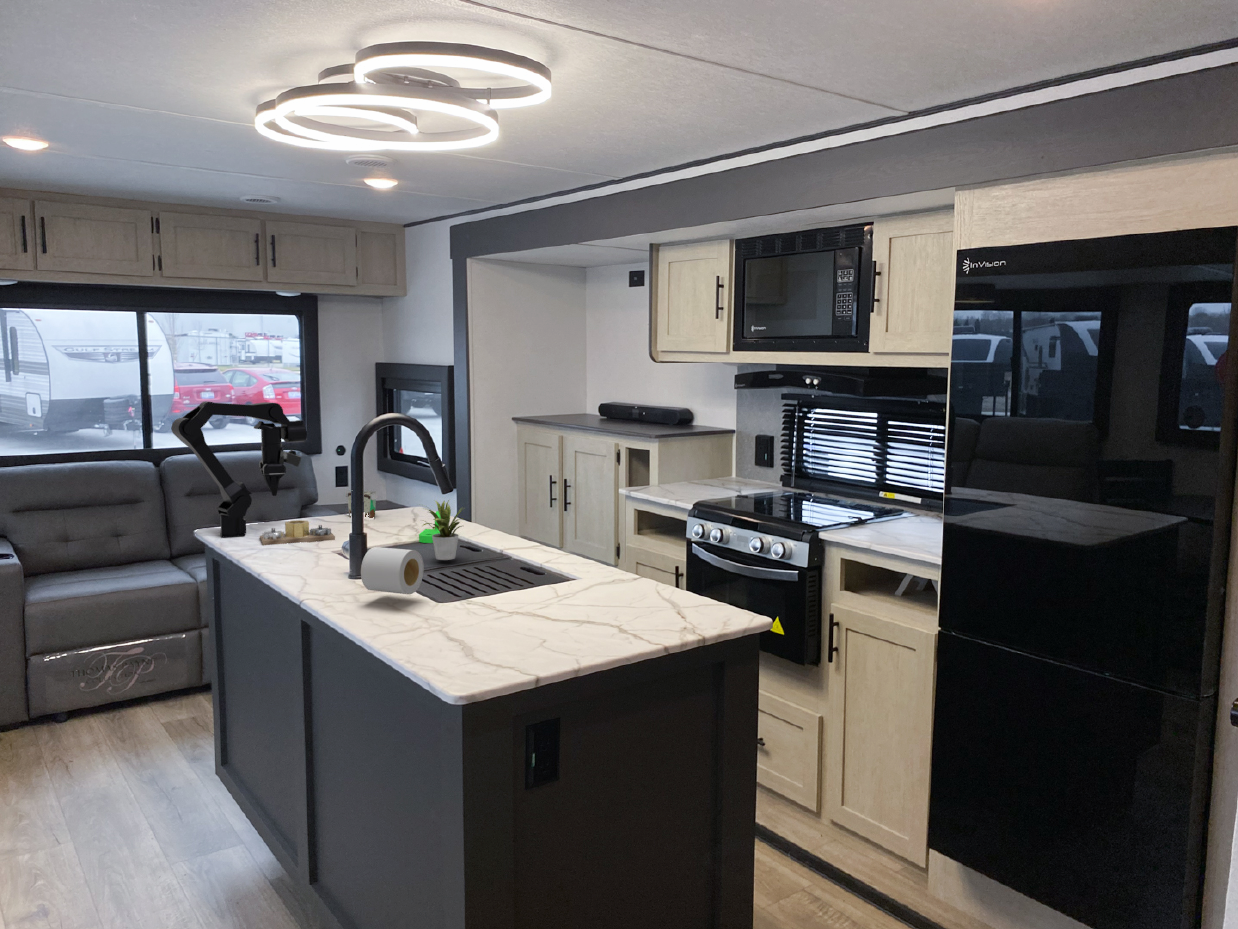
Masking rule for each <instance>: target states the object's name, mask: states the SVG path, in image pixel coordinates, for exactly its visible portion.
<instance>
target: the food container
mask: <svg viewBox="0 0 1238 929" xmlns="http://www.w3.org/2000/svg"><path fill="white" fill-rule="evenodd" d="M363 490H364V512H365V517H366V515H367V513H368V515H369V516H368V517H369V518H373V517H376V504H377V503H376V502H377V500H378V499H379V496H378V493H377V490H376V491H375V490H369V489H367V490H366V489H363ZM351 491H352V490H347V491H346V495H345V497H346V498H347V507H348V517H349V518H351V517H350V513H351Z"/></svg>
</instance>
